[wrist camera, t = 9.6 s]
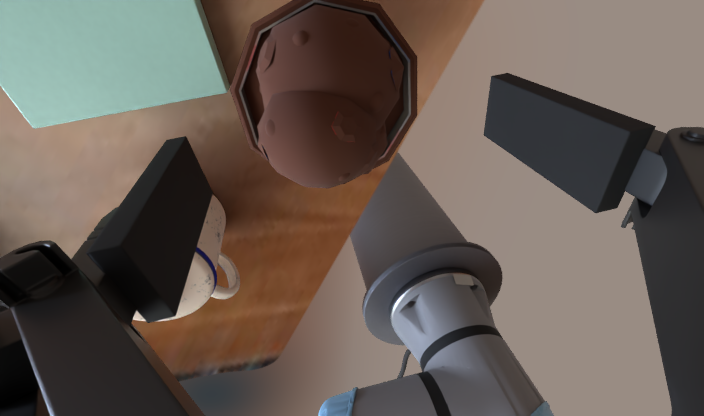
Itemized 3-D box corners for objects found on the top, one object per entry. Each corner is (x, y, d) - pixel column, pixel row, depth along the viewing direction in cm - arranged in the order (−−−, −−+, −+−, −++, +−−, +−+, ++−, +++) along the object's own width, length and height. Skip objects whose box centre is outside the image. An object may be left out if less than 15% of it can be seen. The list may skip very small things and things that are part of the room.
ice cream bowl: (365, 138, 30) (425, 235, 18) (244, 125, 27) (218, 230, 15) (393, 11, 25) (506, 29, 13) (244, -24, 22) (205, -44, 10)
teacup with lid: (105, 218, 30) (26, 324, 20) (163, 155, 27) (104, 240, 18) (216, 274, 36) (195, 373, 27) (269, 226, 34) (267, 316, 24)
